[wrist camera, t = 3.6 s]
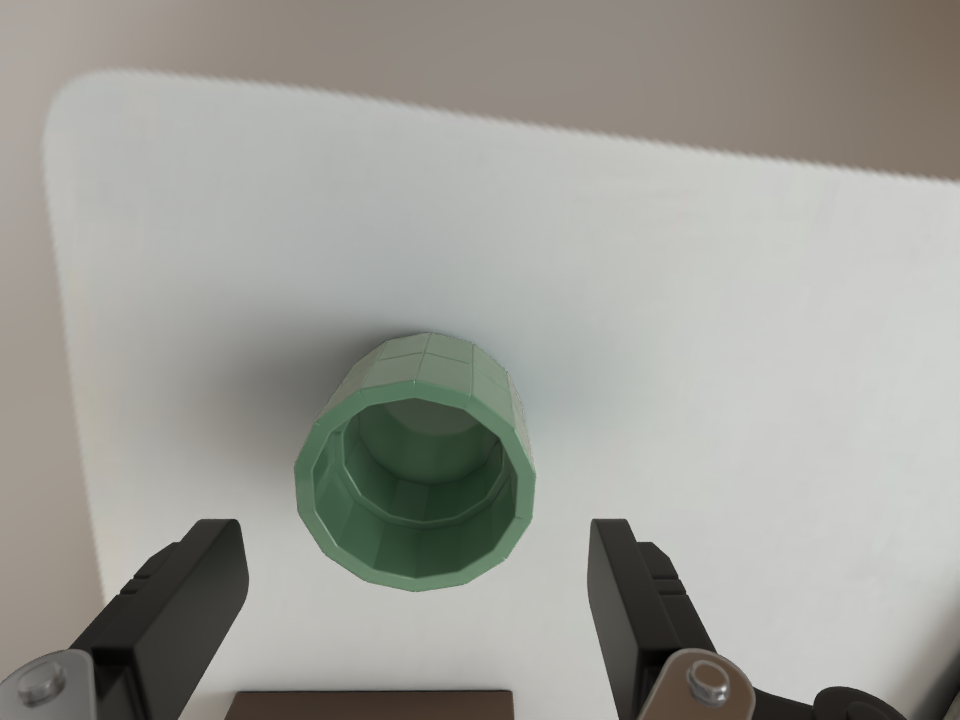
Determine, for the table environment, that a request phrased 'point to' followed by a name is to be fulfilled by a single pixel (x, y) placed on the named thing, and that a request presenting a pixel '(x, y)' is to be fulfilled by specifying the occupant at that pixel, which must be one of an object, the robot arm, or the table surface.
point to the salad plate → (954, 709)
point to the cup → (419, 466)
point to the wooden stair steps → (373, 706)
